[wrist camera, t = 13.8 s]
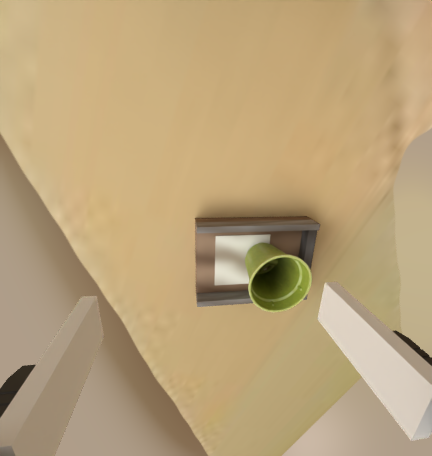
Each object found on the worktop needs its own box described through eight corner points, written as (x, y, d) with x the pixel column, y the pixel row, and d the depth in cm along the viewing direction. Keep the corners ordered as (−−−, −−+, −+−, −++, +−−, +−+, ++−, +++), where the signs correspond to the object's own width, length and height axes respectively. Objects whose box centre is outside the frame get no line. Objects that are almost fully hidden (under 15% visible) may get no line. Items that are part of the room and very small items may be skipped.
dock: (195, 218, 39) (196, 227, 35) (306, 216, 42) (320, 224, 38) (195, 291, 44) (197, 306, 40) (295, 285, 47) (306, 299, 43)
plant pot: (273, 222, 39) (296, 242, 31) (295, 263, 43) (321, 291, 34) (225, 251, 40) (236, 278, 32) (251, 289, 43) (266, 322, 35)
